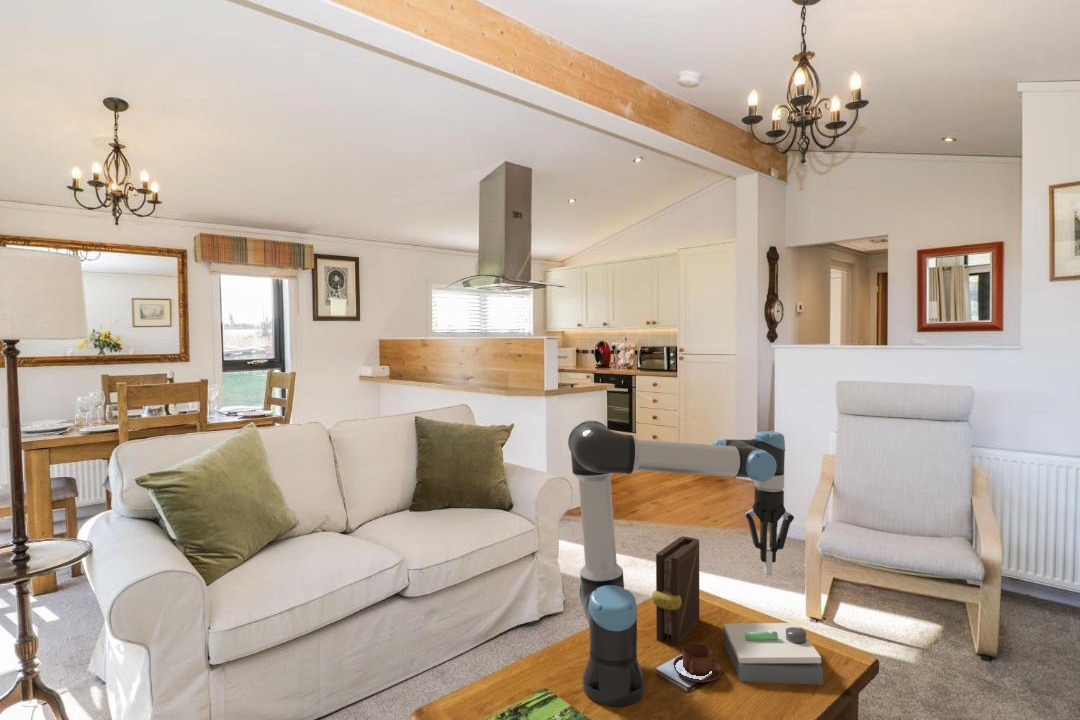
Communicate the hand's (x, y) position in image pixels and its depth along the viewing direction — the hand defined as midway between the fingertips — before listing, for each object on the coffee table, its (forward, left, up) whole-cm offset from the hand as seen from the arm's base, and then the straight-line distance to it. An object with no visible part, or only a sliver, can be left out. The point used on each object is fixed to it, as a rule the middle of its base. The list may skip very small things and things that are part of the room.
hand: (767, 573), depth 161 cm
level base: (-1, -5, -22) cm, 23 cm away
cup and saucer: (-21, -12, -22) cm, 33 cm away
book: (-23, +10, -22) cm, 33 cm away
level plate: (-1, -5, -17) cm, 18 cm away
